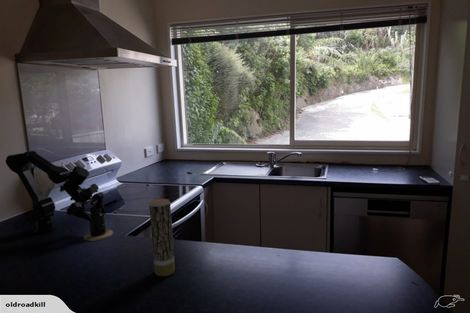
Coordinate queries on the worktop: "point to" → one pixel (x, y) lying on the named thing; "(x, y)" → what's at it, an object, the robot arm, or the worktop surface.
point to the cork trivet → (98, 238)
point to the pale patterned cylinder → (162, 237)
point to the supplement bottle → (97, 222)
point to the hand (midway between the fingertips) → (99, 217)
